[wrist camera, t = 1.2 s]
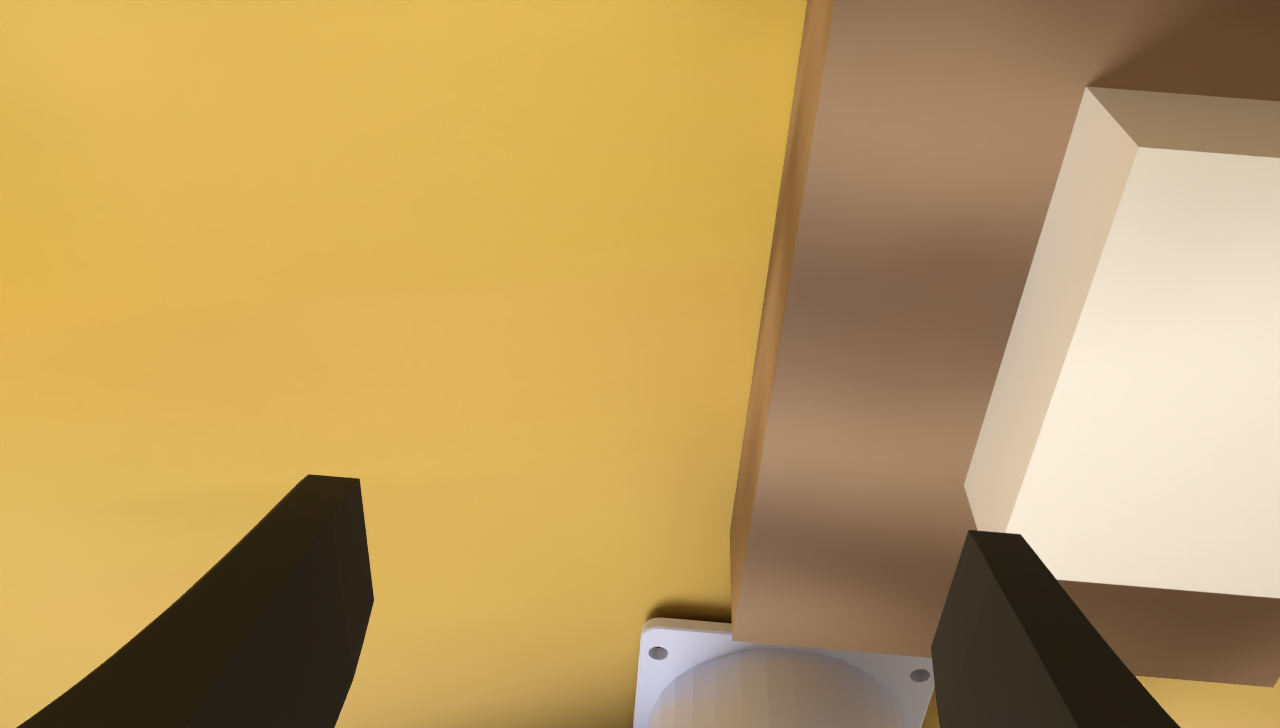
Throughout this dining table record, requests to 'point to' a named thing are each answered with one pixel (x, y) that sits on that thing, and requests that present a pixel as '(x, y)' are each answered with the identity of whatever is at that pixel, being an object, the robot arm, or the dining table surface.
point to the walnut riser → (943, 309)
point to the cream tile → (1148, 354)
